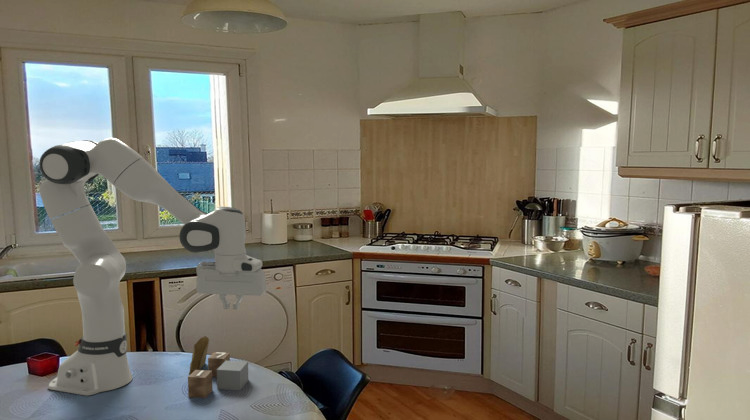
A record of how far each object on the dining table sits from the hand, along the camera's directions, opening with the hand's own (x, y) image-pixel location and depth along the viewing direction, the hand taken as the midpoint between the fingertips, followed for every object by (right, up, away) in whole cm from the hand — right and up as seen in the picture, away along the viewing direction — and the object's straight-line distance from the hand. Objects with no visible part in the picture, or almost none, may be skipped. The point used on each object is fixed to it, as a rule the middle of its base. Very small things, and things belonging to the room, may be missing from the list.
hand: (231, 308), depth 159 cm
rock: (-15, -22, +14) cm, 30 cm away
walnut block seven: (-6, -22, +10) cm, 25 cm away
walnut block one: (-8, -24, -4) cm, 25 cm away
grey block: (0, -23, +3) cm, 23 cm away
